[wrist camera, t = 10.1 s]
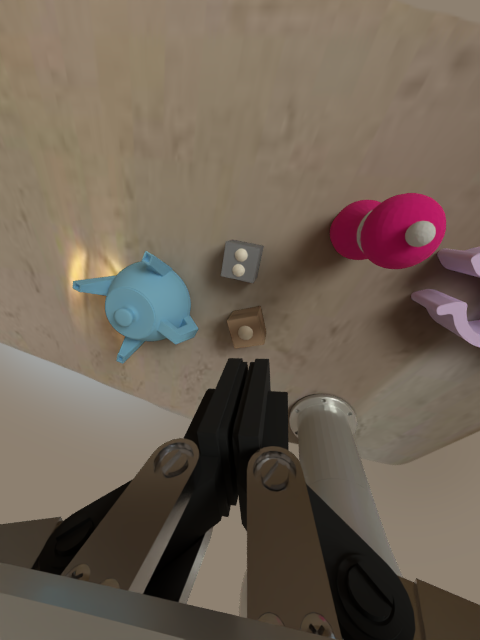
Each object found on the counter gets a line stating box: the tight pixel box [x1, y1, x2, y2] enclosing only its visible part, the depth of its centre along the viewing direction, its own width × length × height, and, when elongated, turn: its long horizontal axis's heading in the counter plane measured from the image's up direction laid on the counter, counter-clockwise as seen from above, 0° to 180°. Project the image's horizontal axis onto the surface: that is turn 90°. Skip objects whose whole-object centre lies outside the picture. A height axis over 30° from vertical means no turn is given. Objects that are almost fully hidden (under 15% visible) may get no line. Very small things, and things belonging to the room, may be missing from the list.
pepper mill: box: [330, 193, 446, 269], centre depth 26 cm, size 7×7×20 cm
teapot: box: [73, 251, 198, 364], centre depth 40 cm, size 15×15×11 cm
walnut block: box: [227, 306, 266, 349], centre depth 40 cm, size 5×5×5 cm
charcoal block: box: [221, 240, 264, 283], centre depth 37 cm, size 5×5×5 cm
